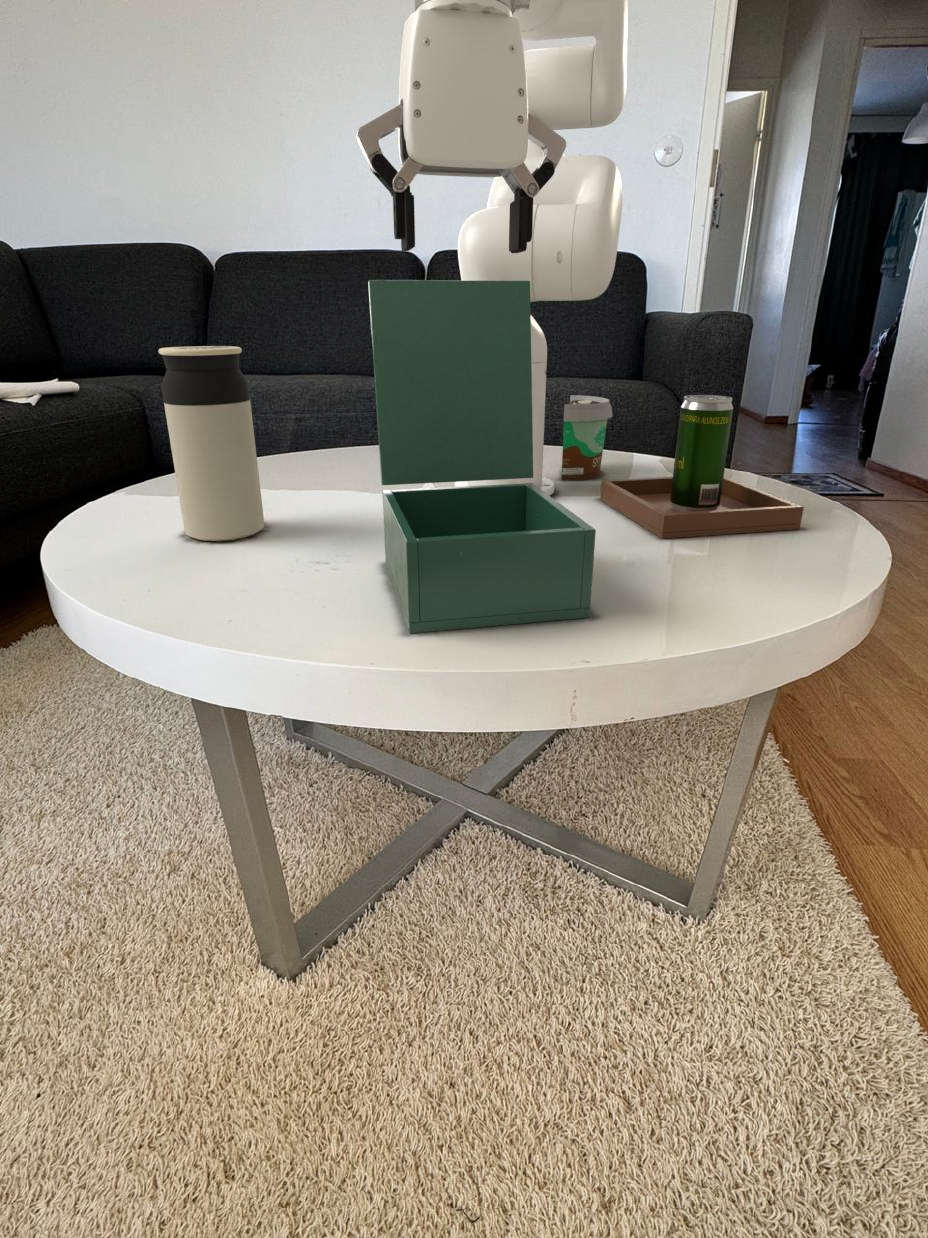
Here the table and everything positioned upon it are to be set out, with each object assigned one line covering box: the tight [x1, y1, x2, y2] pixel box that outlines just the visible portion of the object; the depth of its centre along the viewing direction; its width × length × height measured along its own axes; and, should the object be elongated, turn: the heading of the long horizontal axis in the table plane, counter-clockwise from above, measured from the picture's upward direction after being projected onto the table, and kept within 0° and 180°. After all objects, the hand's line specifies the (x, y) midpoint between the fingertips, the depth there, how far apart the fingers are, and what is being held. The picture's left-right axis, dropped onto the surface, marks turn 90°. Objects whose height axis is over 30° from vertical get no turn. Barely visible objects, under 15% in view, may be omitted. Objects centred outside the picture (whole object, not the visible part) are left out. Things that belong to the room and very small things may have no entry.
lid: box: [367, 279, 533, 486], centre depth 64 cm, size 16×14×5 cm
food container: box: [560, 394, 613, 481], centre depth 99 cm, size 12×6×10 cm, turn 168°
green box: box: [381, 483, 597, 634], centre depth 58 cm, size 16×14×7 cm
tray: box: [599, 475, 805, 540], centre depth 81 cm, size 17×16×2 cm
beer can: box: [670, 394, 734, 512], centre depth 78 cm, size 5×5×12 cm
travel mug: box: [157, 345, 265, 542], centre depth 72 cm, size 8×8×18 cm
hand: (463, 250), depth 62 cm, fingers open, 9 cm apart
